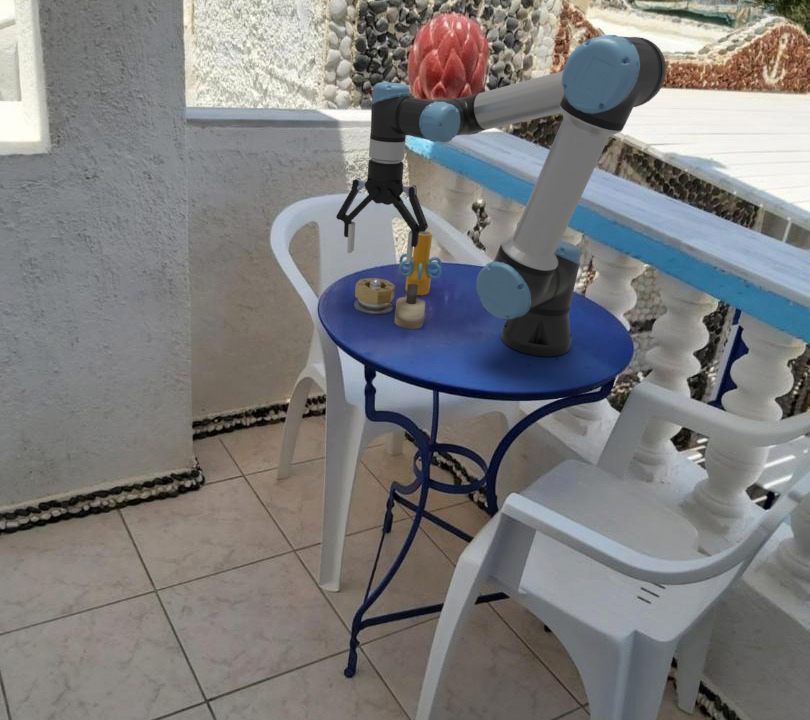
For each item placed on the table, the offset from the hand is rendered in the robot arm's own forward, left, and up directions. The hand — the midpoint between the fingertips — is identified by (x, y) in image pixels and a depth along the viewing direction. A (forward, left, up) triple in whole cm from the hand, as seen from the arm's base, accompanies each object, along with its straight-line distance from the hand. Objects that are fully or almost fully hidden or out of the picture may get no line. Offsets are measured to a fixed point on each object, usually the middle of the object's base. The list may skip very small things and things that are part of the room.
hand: (379, 256), depth 172 cm
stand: (-11, -2, -13) cm, 16 cm away
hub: (0, 0, -13) cm, 13 cm away
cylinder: (+4, -16, -13) cm, 21 cm away
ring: (0, 0, -10) cm, 10 cm away
